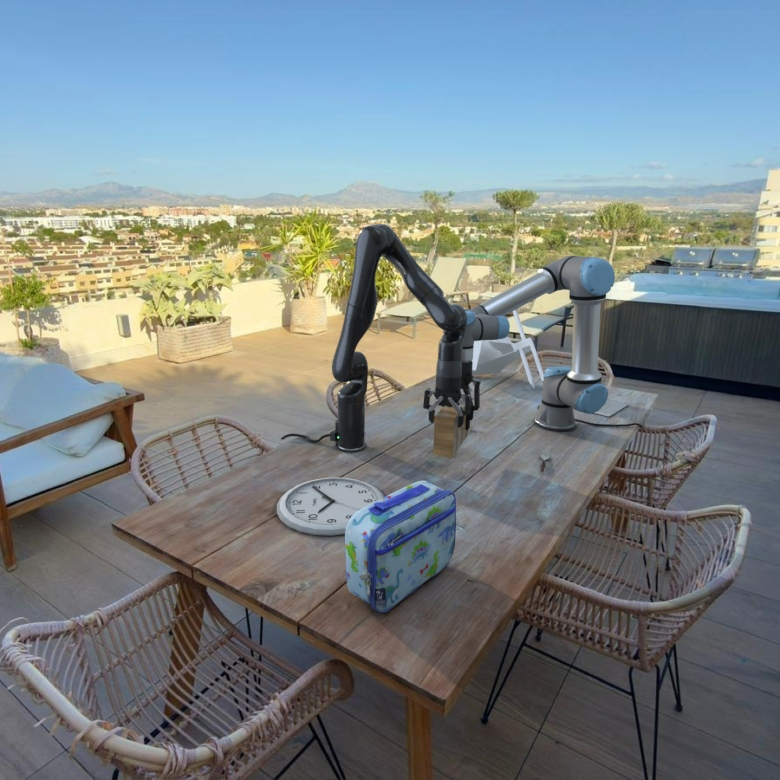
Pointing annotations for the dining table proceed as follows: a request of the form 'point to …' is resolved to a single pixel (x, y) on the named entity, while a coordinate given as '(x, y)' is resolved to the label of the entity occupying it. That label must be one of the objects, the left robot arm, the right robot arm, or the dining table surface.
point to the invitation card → (610, 408)
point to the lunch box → (399, 543)
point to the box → (448, 432)
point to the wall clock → (325, 504)
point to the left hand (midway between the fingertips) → (445, 424)
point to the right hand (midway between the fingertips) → (457, 427)
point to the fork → (544, 459)
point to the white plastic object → (504, 354)
